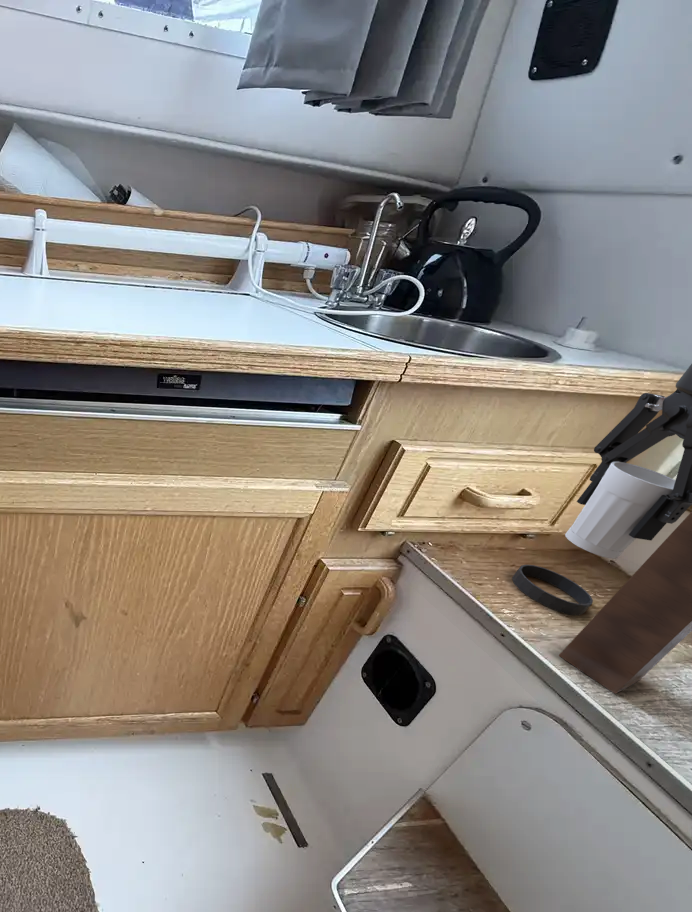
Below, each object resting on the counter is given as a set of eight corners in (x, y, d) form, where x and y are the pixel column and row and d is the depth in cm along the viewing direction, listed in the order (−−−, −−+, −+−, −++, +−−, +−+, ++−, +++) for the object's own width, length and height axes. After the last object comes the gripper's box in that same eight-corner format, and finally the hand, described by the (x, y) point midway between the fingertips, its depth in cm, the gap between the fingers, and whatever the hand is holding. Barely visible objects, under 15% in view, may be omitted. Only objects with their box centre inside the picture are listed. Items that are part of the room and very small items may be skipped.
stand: (636, 682, 71) (863, 469, 55) (614, 694, 69) (846, 474, 53) (580, 645, 76) (774, 440, 60) (558, 655, 73) (754, 443, 57)
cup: (622, 568, 77) (686, 496, 71) (553, 538, 82) (608, 468, 76) (628, 552, 82) (688, 483, 76) (563, 524, 87) (615, 457, 81)
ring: (575, 592, 89) (583, 582, 88) (591, 624, 81) (600, 614, 80) (508, 566, 92) (515, 557, 91) (517, 595, 85) (525, 585, 84)
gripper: (632, 341, 77) (533, 480, 88) (809, 394, 59) (656, 561, 70) (680, 349, 77) (576, 487, 89) (871, 405, 59) (710, 569, 71)
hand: (612, 519), depth 79 cm, fingers closed on cup, 8 cm apart
